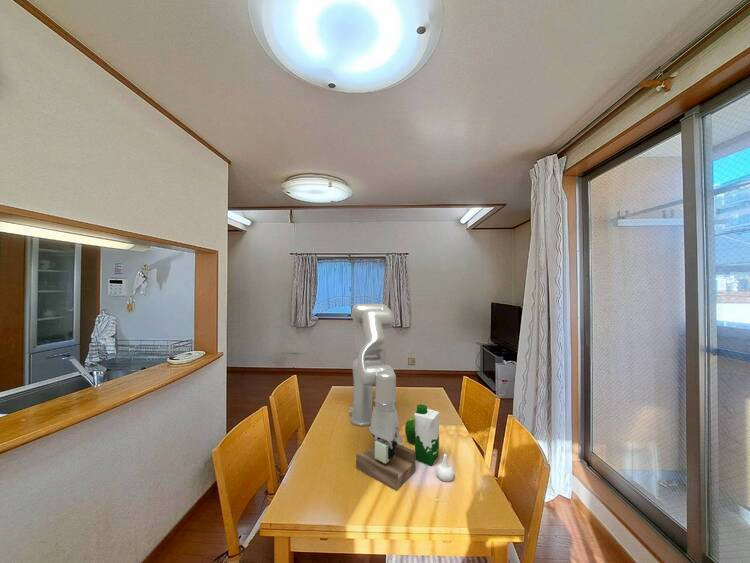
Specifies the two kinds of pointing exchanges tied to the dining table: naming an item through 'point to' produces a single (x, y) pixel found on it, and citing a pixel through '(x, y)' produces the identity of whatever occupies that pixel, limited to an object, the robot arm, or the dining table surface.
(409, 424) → the bell pepper
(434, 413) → the milk carton
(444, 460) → the garlic bulb
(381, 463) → the shelf
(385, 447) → the cabinet
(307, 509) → the dining table surface
